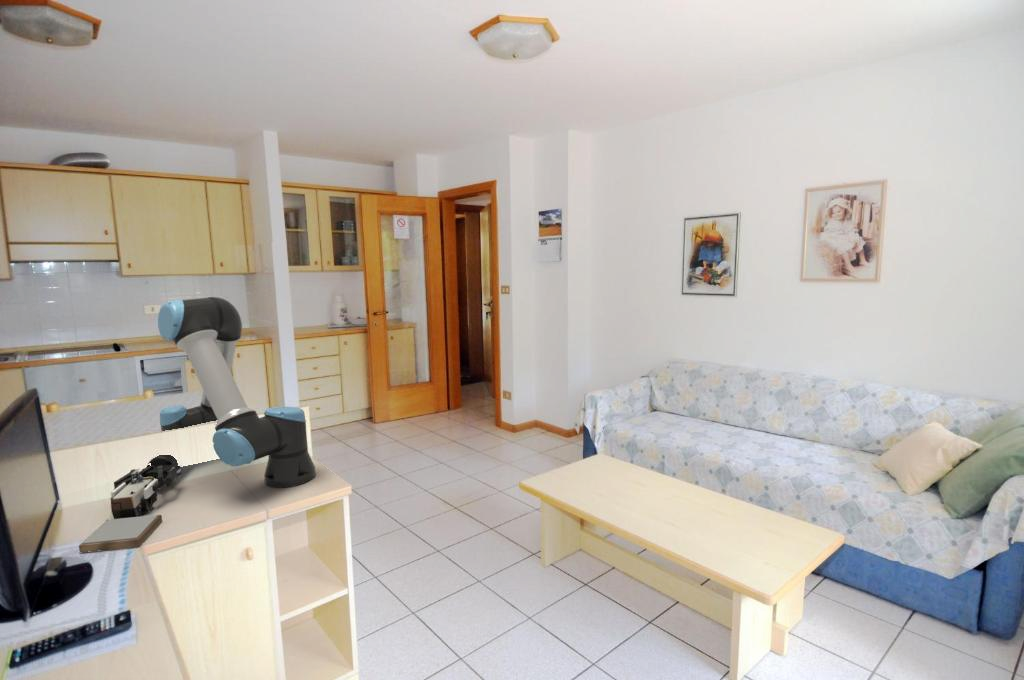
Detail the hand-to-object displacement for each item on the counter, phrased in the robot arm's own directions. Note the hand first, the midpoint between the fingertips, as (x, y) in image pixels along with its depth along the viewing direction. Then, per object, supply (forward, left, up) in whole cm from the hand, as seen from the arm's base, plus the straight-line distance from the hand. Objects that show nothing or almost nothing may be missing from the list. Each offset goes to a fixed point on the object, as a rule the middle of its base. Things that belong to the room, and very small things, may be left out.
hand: (129, 495), depth 148 cm
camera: (0, -4, -6) cm, 7 cm away
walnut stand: (-3, +12, -6) cm, 13 cm away
